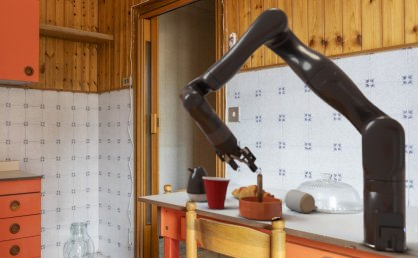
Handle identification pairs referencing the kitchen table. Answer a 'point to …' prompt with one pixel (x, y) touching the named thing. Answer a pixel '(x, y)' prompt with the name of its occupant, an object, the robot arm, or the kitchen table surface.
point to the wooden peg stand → (259, 188)
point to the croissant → (249, 192)
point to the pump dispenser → (196, 184)
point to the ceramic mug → (300, 201)
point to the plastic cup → (216, 191)
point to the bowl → (260, 208)
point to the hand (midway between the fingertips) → (245, 169)
